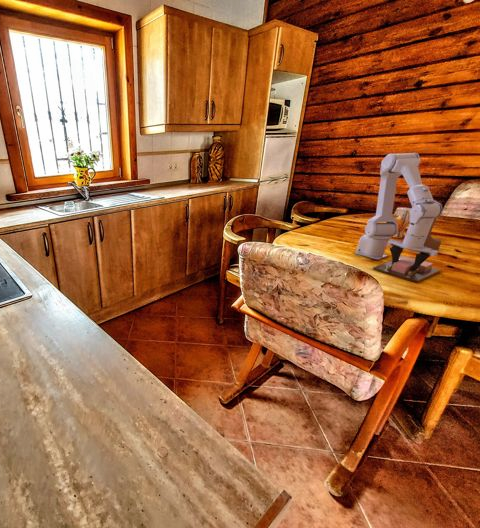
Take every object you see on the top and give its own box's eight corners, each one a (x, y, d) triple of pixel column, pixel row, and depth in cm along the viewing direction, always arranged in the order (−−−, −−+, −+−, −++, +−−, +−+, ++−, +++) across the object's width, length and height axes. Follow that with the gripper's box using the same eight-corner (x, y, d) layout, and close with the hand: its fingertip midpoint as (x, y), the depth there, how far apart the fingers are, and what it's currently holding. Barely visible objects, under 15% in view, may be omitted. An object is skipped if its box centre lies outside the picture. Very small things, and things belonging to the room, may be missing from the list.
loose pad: (390, 269, 112) (393, 263, 111) (401, 266, 114) (403, 259, 113) (404, 274, 108) (406, 267, 107) (414, 270, 110) (417, 263, 109)
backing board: (372, 269, 115) (375, 261, 114) (396, 260, 122) (398, 253, 120) (416, 283, 103) (420, 274, 102) (439, 272, 110) (443, 264, 109)
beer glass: (383, 234, 152) (392, 207, 146) (395, 234, 152) (404, 206, 146) (395, 238, 145) (405, 210, 139) (407, 237, 146) (418, 209, 140)
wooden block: (436, 248, 131) (452, 210, 124) (437, 251, 128) (454, 213, 121) (410, 244, 137) (424, 208, 130) (411, 247, 134) (425, 210, 127)
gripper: (448, 238, 100) (433, 271, 106) (399, 228, 113) (388, 258, 118) (437, 241, 98) (422, 275, 103) (389, 231, 110) (378, 262, 116)
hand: (403, 267), depth 111 cm, fingers open, 6 cm apart
